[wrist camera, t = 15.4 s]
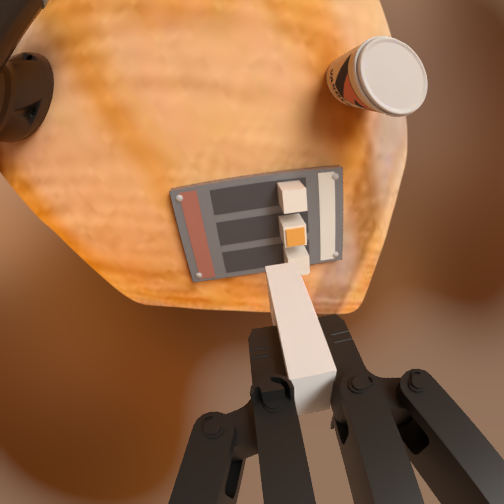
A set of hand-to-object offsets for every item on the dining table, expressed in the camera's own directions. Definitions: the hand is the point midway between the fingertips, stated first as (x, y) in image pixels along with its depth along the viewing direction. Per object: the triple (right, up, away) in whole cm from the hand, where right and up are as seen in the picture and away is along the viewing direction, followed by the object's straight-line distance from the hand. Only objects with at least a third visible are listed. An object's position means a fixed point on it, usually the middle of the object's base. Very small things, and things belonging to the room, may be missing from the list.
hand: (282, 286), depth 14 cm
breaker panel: (0, +6, +27) cm, 28 cm away
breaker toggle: (+4, +6, +26) cm, 26 cm away
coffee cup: (+12, +26, +18) cm, 33 cm away
